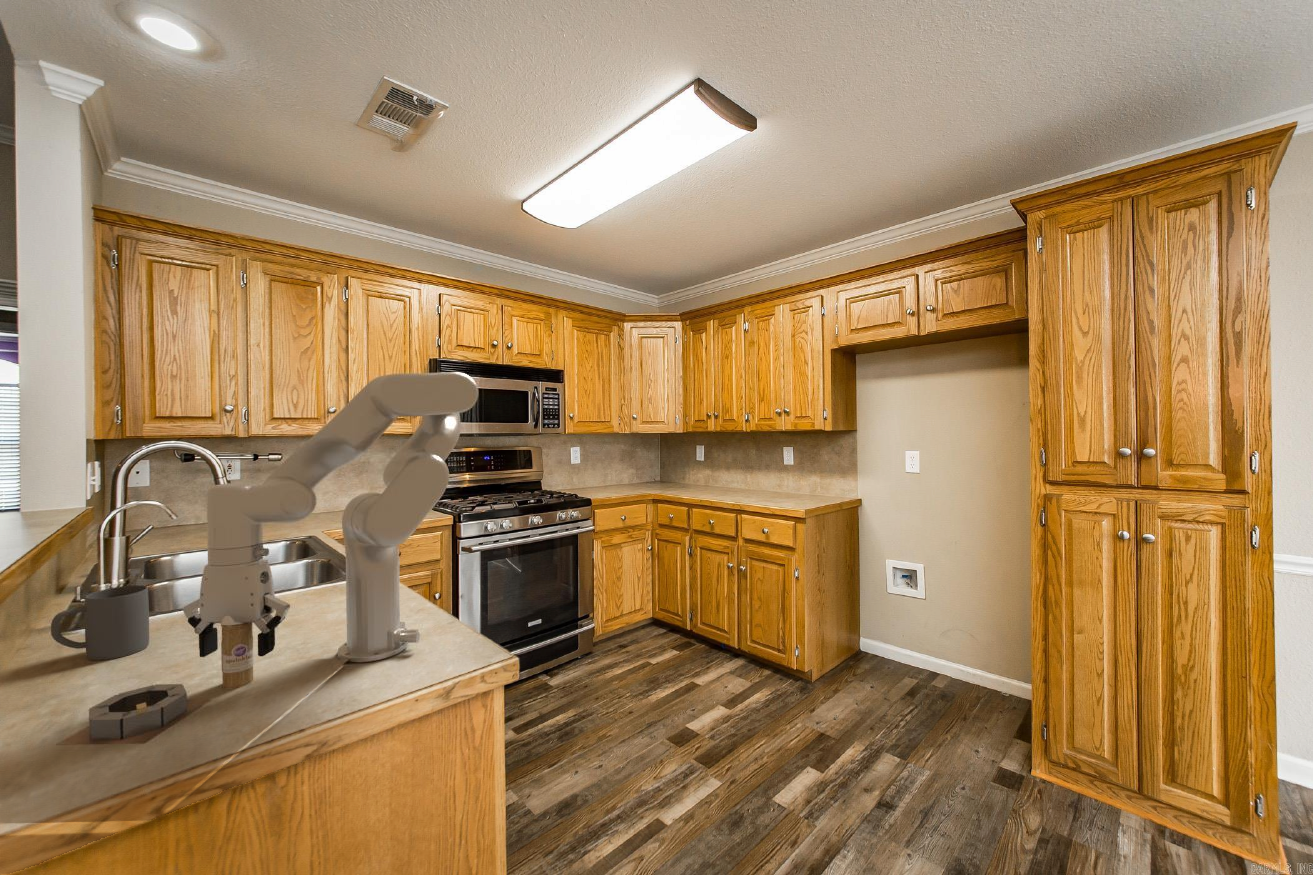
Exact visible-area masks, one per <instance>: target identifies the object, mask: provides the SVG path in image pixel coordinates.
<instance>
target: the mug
mask: <svg viewBox="0 0 1313 875" xmlns="http://www.w3.org/2000/svg"><path fill="white" fill-rule="evenodd" d="M149 604H150V603H149V589H148V586H145V585H137V584H136V585H124V586H118V587H117V586H116V587H110V588H106V589H101V590H97V591H94V592H91V593H88V594H86V596H85V597H84V605H82V606H79V607H73V608H70V609H66V610H63V611H61V612H58V613H57V614H56V615H54V617H53V619H52V620H51V623H50V635H51V636H52V639H53V640H54V641H55V642H56V643H58V644H60V645H63V646H64V647H69V648H72V649H79V650H80V649H85V654H86V658H87V659H88V660H90V661H108V660H115V659H118V658H123V657H127V656H130V655H133V654H136V653H139V652H141V651H143V650H145V649H147V647H149V644H150V606H149ZM79 613H84V639H85V641H83V642H82V641H81V642H80V641H74V640H71V639H69V638H67V637H65V635H64V636H63V634H62V633H61V629H60V628H61V621H62V620H63V618H64V617H66V616H70V615H75V614H79Z"/></svg>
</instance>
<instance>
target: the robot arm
mask: <svg viewBox="0 0 1313 875" xmlns="http://www.w3.org/2000/svg"><path fill="white" fill-rule="evenodd" d="M478 398H479V387H478V385H477V383H476V381H475V380H474V379H473V377H471V376H469V375H468V374H467V373H465V372H460V371H450V372H449V371H448V372H446V371H445V372H424V373H423V372H422V373H421V372H420V373H414V372H413V373H402V372H401V373H392V374H386V375H380V376H377V377H375V378H373V379H372V380H370V381H369V382H367V384H365V385H364V387H362V389H361V390H359V391H358V392H357V393H356V394H355V395H354V396H353V397H352V399H351V400H350V401H349V402H348V403H347V404H346V405H345V406H344V407H343V408H342V409H341V410H340V411H339V412H338V413H336V415H335V416H334V417H333V418H332V419H331V420H330V421H328V423H327V424H325V425H324V426H323V427H322V428H321V429H319V431H317V432H316V433H315V434H313V435H312V436H311V437H310V438H309V439H308V440H306V442H304V443H303V444H301V446H300V447H298V448H297V449H296V450H295V451H294V452H293V453H291V455H289V456H288V457H287V458H286V459H285V460H284V461H283V462H282V463H281V464H280V465H279V466H278V467H277V468H276V469H275V470H274V471H273V472H272V473H271V474H270V475H269V476H268V477H267V478H266V479H265V480H264V481H263V482H262V484H257V483H254V482H253V483H252V482H229V483H221V484H216V485H213V486H211V487H210V488H208V489H207V491H206V527H207V528H206V535H207V536H206V538H207V564H206V565H204V568H203V572H202V576H201V582H200V590H199V598H198V599H196V600H194V601H192V602H190V603H189V604H187V605H184V606H183V607H182V612H183V613H184V616H185V618H186V619H187V623H188V625H190V626H191V627H192V628H193V629H194V633H195V634H196V635H198V649H199V657H200V658H205V657H207V656H209V655H211V654H212V653H214V652H216V651H218V649H219V648H218V647H219V644H218V639H219V638H218V628H217V627H215V625H216V624H220V623H221V622H222V620H223V618H224V617H225V616H230V617H231V618H232V619H233V620H234V622H238V623H251V622H252V624H254V625H255V626H256V627H257V628H258V630H259V631H260V632H259V633H258V634H257V656H258V657H264V656H266V655H267V654H269V653H271V652H272V651H274V649H275V646H276V629H277V628H278V627H279V625H280V624H281V623H282V622H283V621H284V620H285V619H286V615H287V613H288V612H289V610H290V608H291V604H290V603H289V602H286V601H284V600H282V599H280V598H278V597H276V595H275V585H274V579H273V574H272V570H271V567H270V563H269V561H268V559H264V557H268V555H269V553H270V549H269V548H268V547H267V548H265V547H264V543H263V542H264V541H263V539H264V538H263V537H264V536H263V523H264V524H265V523H267V524H270V523H273V524H274V523H275V524H276V523H277V524H278V523H280V524H285V523H287V524H288V523H289V524H290V523H295V522H296V523H297V522H300V521H302V520H305V519H306V518H307V517H309V516H310V515H312V513H313V512H314V510H315V508H316V506H317V495H316V492H315V491H314V489H315V488H316V487H317V486H318V485H319V484H320V483H321V482H322V481H324V479H326V477H329V475H330V474H332V473H333V472H334V471H336V470H338V469H339V468H340V467H343V466H345V465H347V464H349V463H351V462H353V461H355V460H357V459H359V458H361V456H363V455H364V454H366V452H367V451H368V450H369V449H370V448H371V447H372V446H373V445H374V444H375V442H376V441H377V440H378V439H380V438H381V436H382V435H383V434H384V433H385V431H387V430H388V429H389V428H390V427H391V425H392V424H393V423H395V421H396V420H397V419H398V418H404V417H405V418H408V417H421V420H420V423H419V425H418V426H417V428H416V429H415V431H414V432H413V434H412V435H411V436H410V437H409V438H408V440H407V441H406V442H405V443H404V444H403V446H401V447H400V449H399V450H398V451H397V453H396V454H395V455H394V456H393V457H392V458H391V459H390V460H389V461H388V462H387V463H386V466H385V467H384V469H383V473H382V479H383V483H384V485H385V486H386V487H385V489H384V490H383V491H382V493H379V492H365V493H362V494H359V495H357V496H355V497H353V498H352V499H351V500H350V501H349V502H348V503H347V505H346V506H345V508H344V510H343V512H342V513H343V514H342V518H341V527H342V536H343V543H344V552H345V591H346V592H345V593H346V594H345V597H346V599H345V600H346V602H345V603H346V604H345V606H346V608H345V609H346V642H344V643H342V644H341V645H340V646H339V647H338V649H337V656H338V658H339V659H341V660H342V659H345V660H347V662H348V663H369V662H373V661H381V660H383V659H384V660H385V659H388V658H390V657H393V656H395V655H398V654H399V653H400V654H401V652H403V651H404V650H405V649H407V647H408V645H409V644H411V643H415V644H416V643H417V644H418V643H419V641H420V638H421V636H420V635H421V634H420V632H419V629H415V628H412V629H408V628H406V621H401V620H400V619H401V618H400V616H401V613H400V611H401V610H400V609H401V607H400V605H401V604H400V602H401V600H400V597H401V596H400V593H401V592H400V552H399V545H400V544H403V543H404V542H405V541H406V540H407V539H409V538H410V537H411V536H412V535H413V533H415V531H416V530H417V529H418V528H419V527H420V525H421V524H422V523H423V521H424V520H425V519H426V517H427V516H428V515H429V513H430V512H431V511H432V509H433V508H434V507H435V506H436V504H437V503H438V502H439V500H440V499H441V498H442V496H443V495H444V494H445V491H446V489H447V487H448V485H449V481H450V471H449V468H448V465H447V463H446V460H447V459H448V457H449V455H450V454H451V452H452V451H453V450H454V448H455V447H456V446H457V444H458V441H459V439H460V435H461V428H462V427H461V415H460V414H461V413H465V412H468V411H469V410H471V409H472V408H473V407H474V406H475V404H476V403H477V400H478ZM274 612H275V614H274V616H273V615H272V614H273V613H274Z"/></svg>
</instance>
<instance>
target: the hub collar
mask: <svg viewBox="0 0 1313 875" xmlns="http://www.w3.org/2000/svg"><path fill="white" fill-rule="evenodd" d="M187 700H188V696H187V691H186V689H185V686H184V684H182V683H173V684H172V683H171V684H170V683H169V684H167V683H164V684H163V683H162V684H159V683H157V684H152V685H151V684H150V685H148V686H144V687H139V688H135V689H133V690H128V691H125V692H121V693H118V694H115V695H112V696H111V697H109V698H107V699H105V700H103V701H102V702H100V703H97V704H95V705H94V706H92V707H89V709H88V727H89V734H90V740H91V741H115V740H122V739H123V740H125V739H128V738H131V737H134V736H138V735H141V734H144V733H148V732H151V731H154V730H158V729H161V727H165V726H167V725H168V724H170V723H171V722H173V721H174V720H176V719H178V718H179V717H181V716H182V715H184V714H185V713H186V712H187Z"/></svg>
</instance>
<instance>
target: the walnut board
mask: <svg viewBox="0 0 1313 875" xmlns="http://www.w3.org/2000/svg"><path fill="white" fill-rule="evenodd" d="M211 701H212V699H187V712H186V713H185V714H184V715H182V716H181V717H179V718H178V719H176V720H174V721H173V722H171V723H170V724H168V725H167V726H165V727H161V729H158V730H154V731H151V732H148V733H144V734H141V735H138V736H134V737H131V738H128V739H125V740H123V739H122V740H115V741H91V740H90V734H89V726H87V727H85V728H84V729H82V730H80V731H78V732H76V733H74V734H73V735H71V736H69V737H67V738H65V739H64V740H62V741H60V742H59V743H56V746H60V745H62V746H63V745H64V746H65V745H66V746H67V745H68V746H70V745H72V746H73V745H121V744H122V745H123V744H124V745H125V744H126V745H128V744H129V745H130V744H132V745H133V744H135V745H136V744H146V743H148V742H149V741H150V740H152V739H154V738H156V737H157V736H158V735H160V734H162V733H163V732H165V731H166V730H168V729H169V728H170V727H172V726H174V725H175V724H177V723H178V722H180V721H181V720H182V719H184V718H186V717H188V716H189V715H191V714H192V713H194V712H195V711H197V710H199V709H201V707H203V706H205V705H206V704H208V703H209V702H211Z"/></svg>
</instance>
